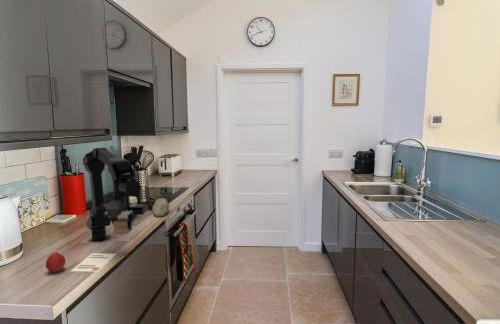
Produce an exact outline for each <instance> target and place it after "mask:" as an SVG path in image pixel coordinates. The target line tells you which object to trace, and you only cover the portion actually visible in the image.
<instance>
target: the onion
mask: <svg viewBox="0 0 500 324" xmlns="http://www.w3.org/2000/svg"><path fill="white" fill-rule="evenodd" d="M65 265H66V258H65V256H64V255H63V254H61V253H58V251H57V250H55V251H53V253H51V254H50V255H49V256H48V257H47V259H46V261H45V268H46V270H48V271H50V272H52V273H58V272H60V271H61V270H62V269H63V268H64V266H65Z"/></svg>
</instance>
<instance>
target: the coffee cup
mask: <svg viewBox="0 0 500 324" xmlns="http://www.w3.org/2000/svg"><path fill="white" fill-rule="evenodd" d="M129 197H130V202H131V205H130V207H134V206H136V205H137V204H138V198H137V197H136V196H129ZM129 214H130V211H125V212H123V218H128V216H127V215H129ZM135 219H137V216H136V217H135Z"/></svg>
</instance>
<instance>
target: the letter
mask: <svg viewBox="0 0 500 324" xmlns="http://www.w3.org/2000/svg"><path fill="white" fill-rule="evenodd" d="M116 255H117V253H91V254H89V255H88V256H87V257H86V258H85V259H83V260H82V261H81V262H80V263H79V264H77V265H75V267H73V268H72V269H71V270H70V272H83V273H85V272H91V273H92V272H94V273H96V272H99V271H100V270H101V269H102V268H104V267H105V266H106V265H107V264H108V262H110V261H111V260H112V259H113V258H114V257H115V256H116Z"/></svg>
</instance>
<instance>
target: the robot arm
mask: <svg viewBox="0 0 500 324" xmlns="http://www.w3.org/2000/svg"><path fill="white" fill-rule="evenodd" d="M82 165H83V166H84V170H85V171H86V172H87V173H88V174H89V175H88V176H89V181H90V182H89V183H90V192H91V203H92V207H91V208H90V211H89V212H88V214H89V217H88V219H87V221H86V223H85V224H86V228H87V229H88V230H90V231H91V238H90V239H89V240H88V242H93V243H95V242H99V243H100V242H104V241H106V240H107V239H108V238H110V235H107V227H108V226H111V223H112V226H113V227H114V224H113V222H114V221H116V220H117V219H118V218H119V216H121V214H122V213H124V212H125V211H130V214H129V215H127V216H128V218H129V222H128V227H129V230H131V228H132V229H133V225H134V222H135V219H136V218H137V216H140V215H142V216H143V215H145V214H146V213H147V212H148V211H149V207H148V204H147V203H137V205H136V206H134V207H130V205H131V202H130V197H131V196H132V197H136V196H138V195H139V194H140V193H141V190H142V187H141V184H140V182H138V181H137V180H136V177H137V176H136V171H135V170H134V167H133V165H132V164H131V162H130V161H129V159H126V158H121V157H117V156H116V155H115V154H113V153H112V152H110V151H109V149H108V148H105V147H95V148H93V149H92V150H91V151H89V152H87V153H85V155H84V157H82ZM106 166H107V168H108V169H107V171H108V172H109V174H110V176H111V178H110V179H111V181H112V193H113V195H111V201H110V202H109V203H105V199H104V198H105V195H104V189H103V188H104V186H103V175H102V174H103V172H104V169H105V167H106ZM135 217H136V218H135ZM131 231H132V230H131Z"/></svg>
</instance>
